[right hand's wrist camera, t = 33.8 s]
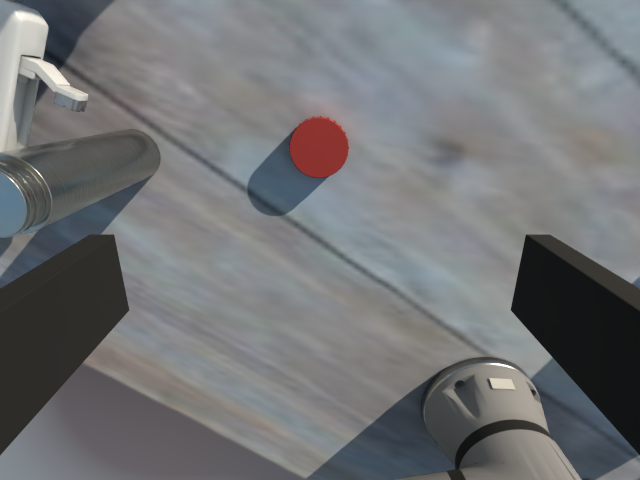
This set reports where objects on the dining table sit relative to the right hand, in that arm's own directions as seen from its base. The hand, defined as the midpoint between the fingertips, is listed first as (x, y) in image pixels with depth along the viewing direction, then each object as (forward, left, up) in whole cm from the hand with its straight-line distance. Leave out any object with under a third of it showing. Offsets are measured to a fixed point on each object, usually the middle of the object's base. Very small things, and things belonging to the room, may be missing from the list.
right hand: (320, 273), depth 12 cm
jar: (-4, +19, -30) cm, 36 cm away
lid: (0, 0, -29) cm, 29 cm away
